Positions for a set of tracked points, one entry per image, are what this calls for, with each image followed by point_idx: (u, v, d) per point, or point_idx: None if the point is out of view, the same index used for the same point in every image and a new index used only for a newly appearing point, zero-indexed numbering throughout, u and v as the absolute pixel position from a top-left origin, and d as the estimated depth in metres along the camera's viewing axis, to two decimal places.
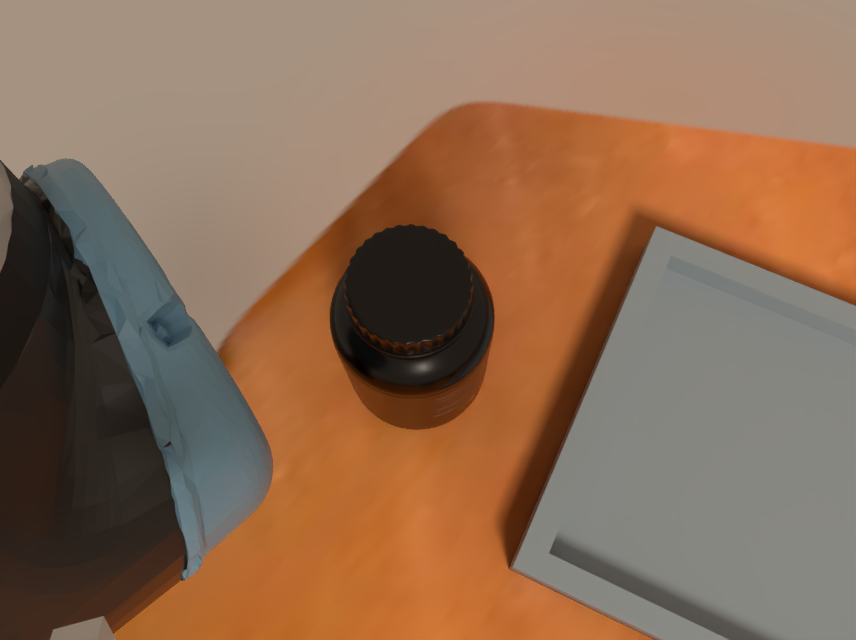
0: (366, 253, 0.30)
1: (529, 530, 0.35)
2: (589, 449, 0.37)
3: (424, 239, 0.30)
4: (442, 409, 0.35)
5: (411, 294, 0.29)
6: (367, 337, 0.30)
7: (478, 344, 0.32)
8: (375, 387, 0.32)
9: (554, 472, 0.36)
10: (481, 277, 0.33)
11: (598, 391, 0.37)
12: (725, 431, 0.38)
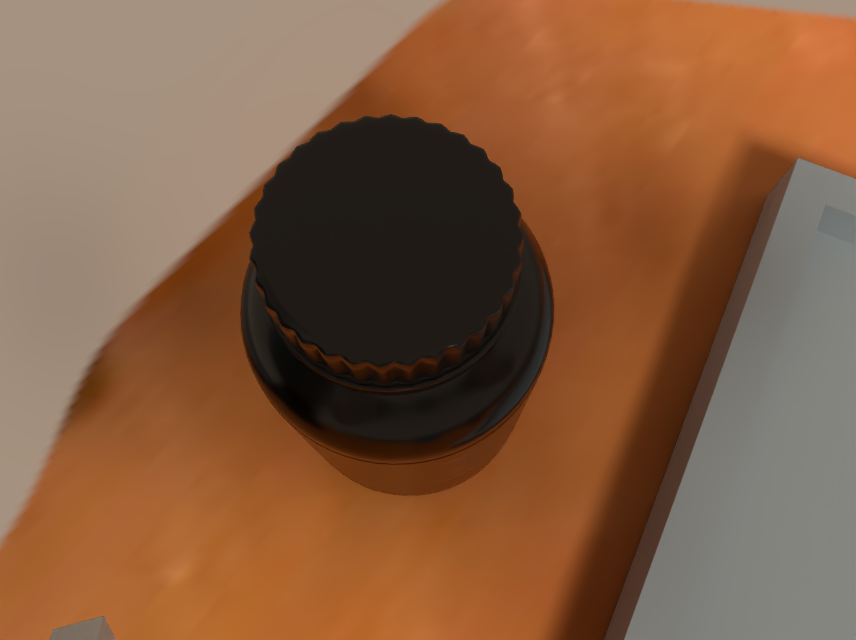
0: (297, 173, 0.14)
1: None
2: (708, 536, 0.21)
3: (419, 143, 0.14)
4: (454, 472, 0.20)
5: (393, 257, 0.14)
6: (302, 350, 0.14)
7: (527, 360, 0.16)
8: (326, 445, 0.16)
9: (649, 578, 0.21)
10: (528, 231, 0.17)
11: (718, 433, 0.22)
12: None
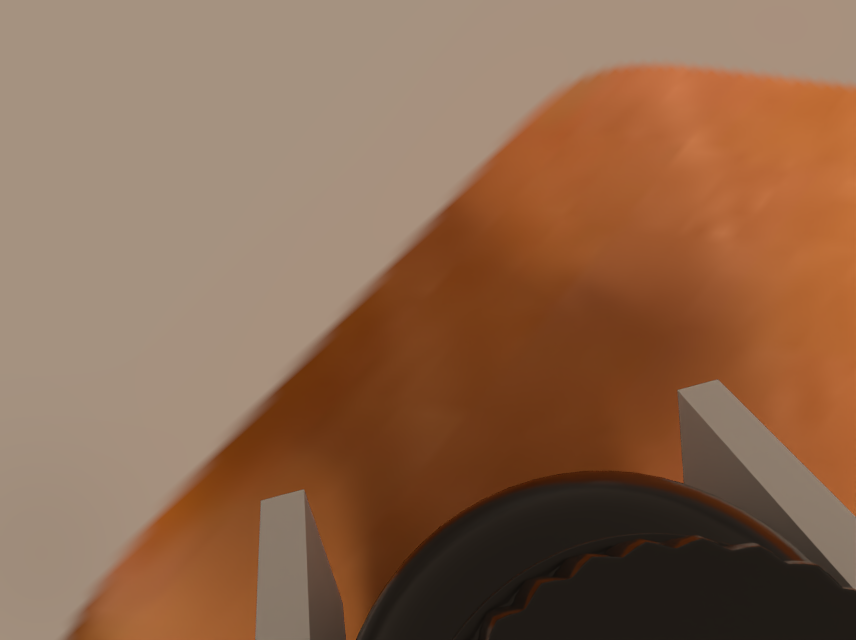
0: None
1: None
2: None
3: (779, 623, 0.06)
4: None
5: None
6: None
7: None
8: None
9: None
10: None
11: None
12: None
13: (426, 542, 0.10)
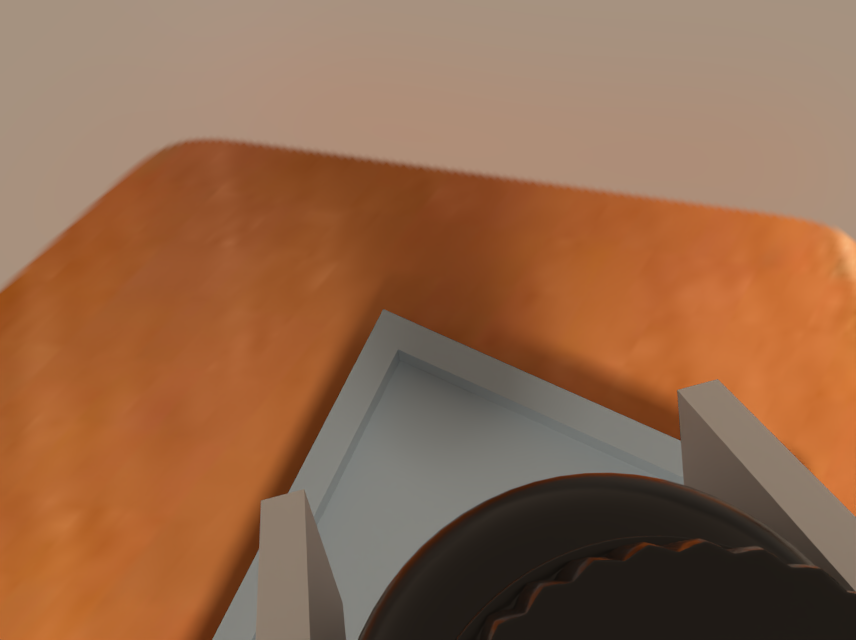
0: None
1: None
2: None
3: (782, 628, 0.06)
4: None
5: None
6: None
7: None
8: None
9: None
10: None
11: None
12: None
13: (427, 544, 0.10)
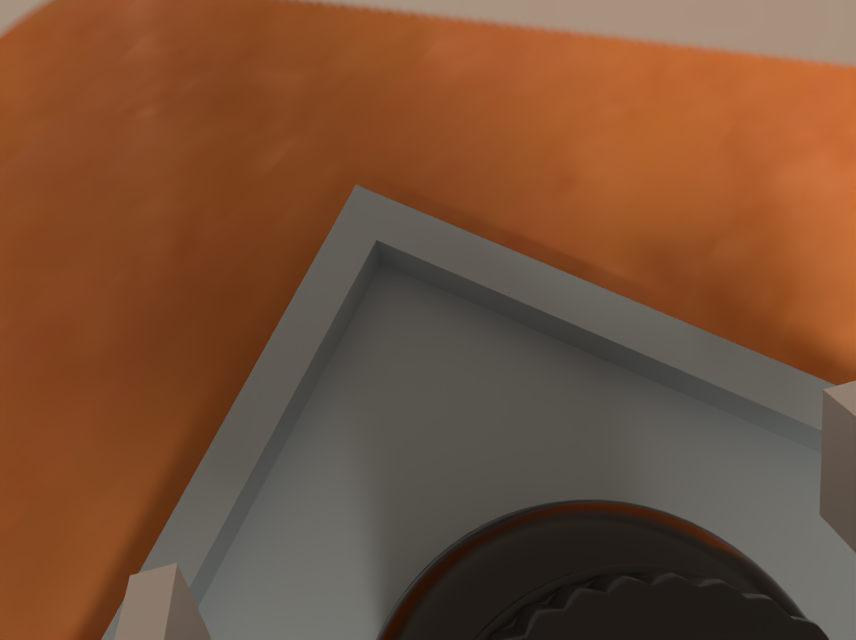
0: None
1: None
2: None
3: None
4: None
5: None
6: None
7: None
8: None
9: None
10: None
11: (194, 515, 0.18)
12: None
13: (434, 564, 0.11)
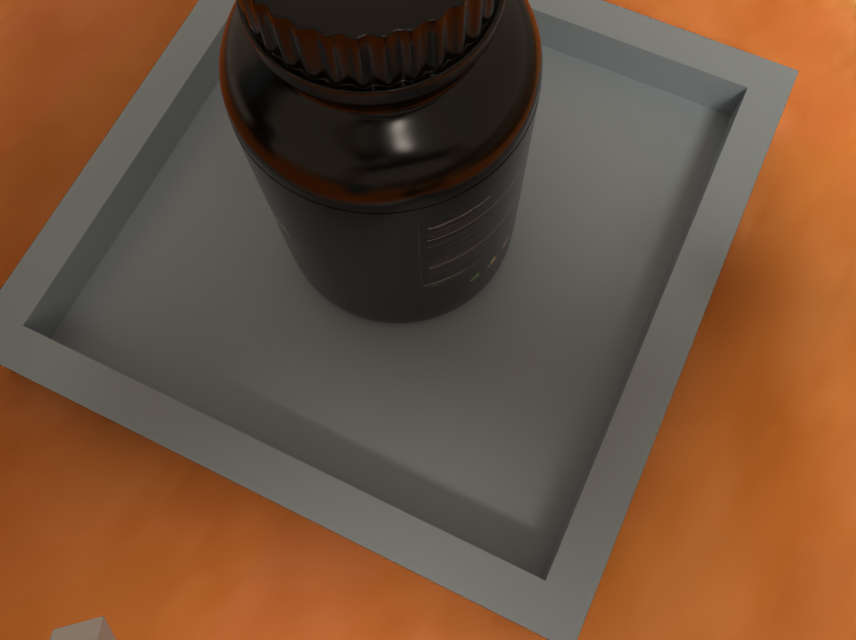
0: None
1: (0, 292, 0.23)
2: (117, 178, 0.24)
3: None
4: (440, 266, 0.19)
5: None
6: (277, 53, 0.14)
7: (513, 98, 0.16)
8: (304, 189, 0.16)
9: (57, 210, 0.23)
10: None
11: (148, 99, 0.24)
12: None
13: None
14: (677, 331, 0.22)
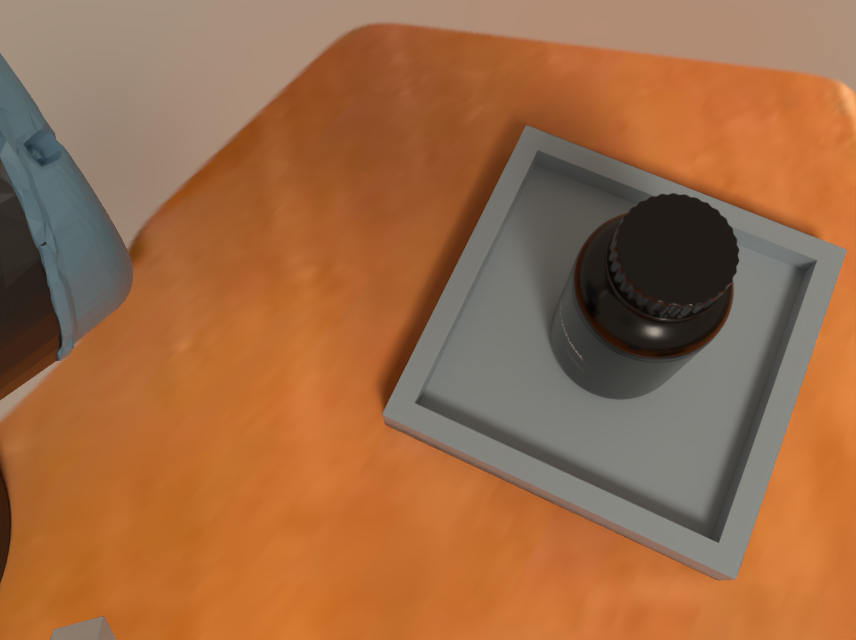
0: (633, 220, 0.31)
1: (398, 383, 0.40)
2: (455, 315, 0.41)
3: (688, 207, 0.31)
4: (665, 376, 0.37)
5: (681, 258, 0.30)
6: (632, 301, 0.31)
7: (725, 310, 0.33)
8: (624, 351, 0.33)
9: (423, 335, 0.41)
10: None
11: (466, 266, 0.42)
12: None
13: (597, 228, 0.35)
14: (782, 406, 0.39)
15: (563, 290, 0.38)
